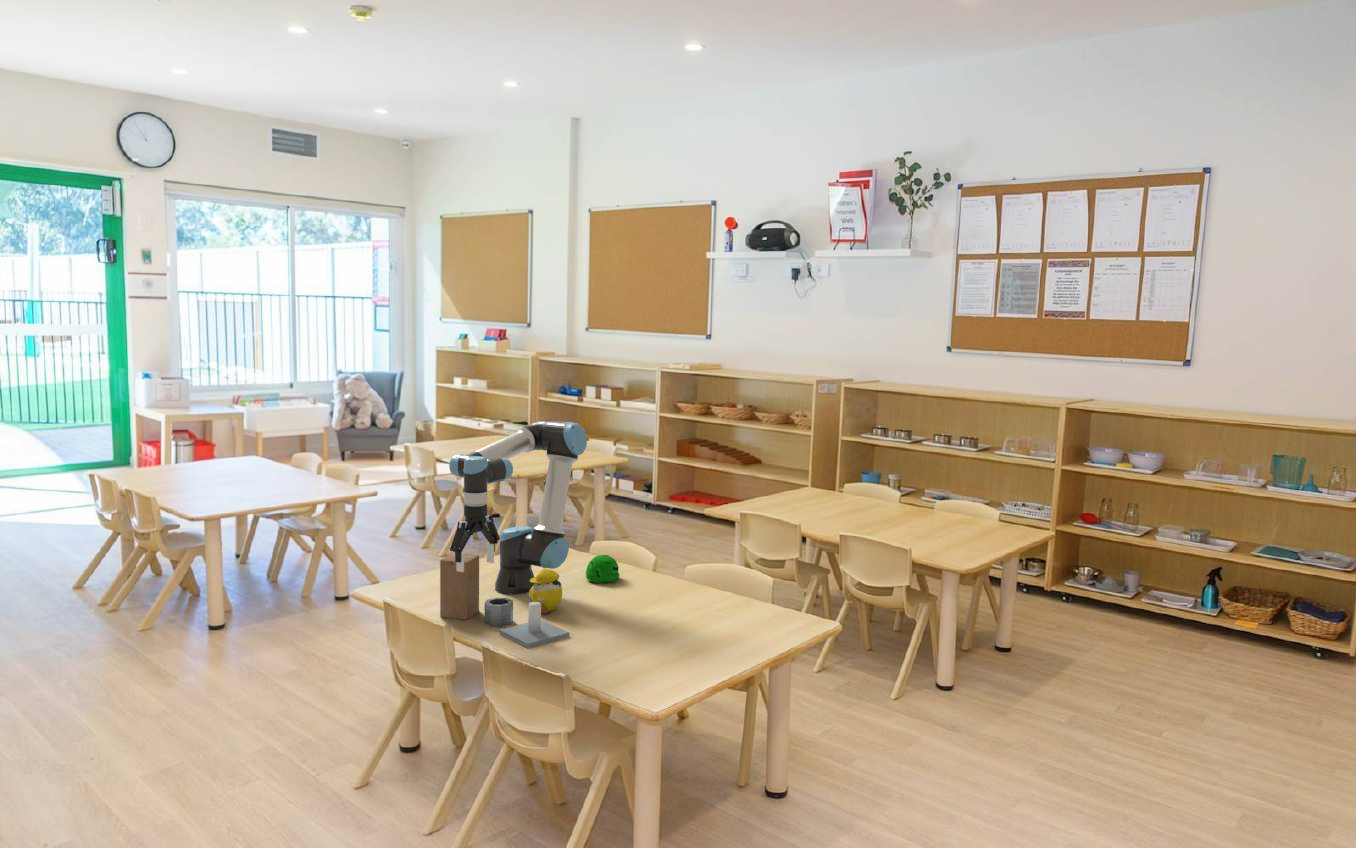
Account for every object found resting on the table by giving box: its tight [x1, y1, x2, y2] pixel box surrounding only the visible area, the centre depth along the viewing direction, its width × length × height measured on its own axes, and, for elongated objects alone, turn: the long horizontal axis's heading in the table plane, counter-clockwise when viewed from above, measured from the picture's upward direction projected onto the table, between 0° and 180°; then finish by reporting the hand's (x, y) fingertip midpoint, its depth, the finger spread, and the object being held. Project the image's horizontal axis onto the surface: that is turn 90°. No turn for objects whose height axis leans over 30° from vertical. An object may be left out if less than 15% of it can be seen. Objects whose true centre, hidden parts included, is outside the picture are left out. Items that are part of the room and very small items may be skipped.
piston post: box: [499, 602, 571, 649], centre depth 293 cm, size 16×16×10 cm
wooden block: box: [439, 552, 480, 621], centre depth 311 cm, size 10×10×20 cm
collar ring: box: [483, 597, 514, 628], centre depth 305 cm, size 9×9×7 cm
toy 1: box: [528, 568, 563, 614], centre depth 317 cm, size 13×10×15 cm
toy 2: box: [585, 554, 621, 584], centre depth 356 cm, size 14×13×10 cm
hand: (475, 567), depth 301 cm, fingers open, 13 cm apart
